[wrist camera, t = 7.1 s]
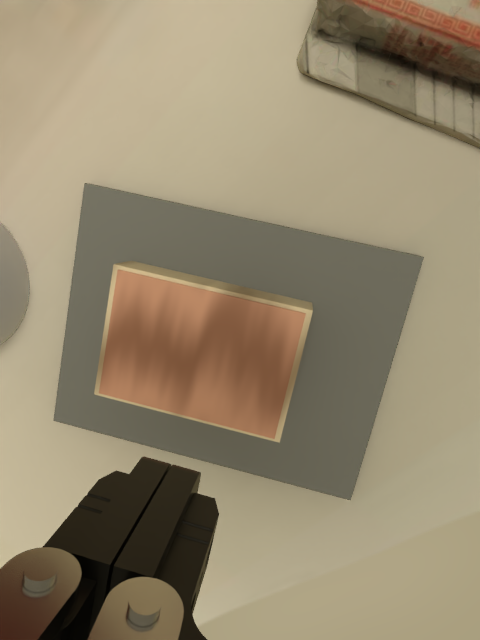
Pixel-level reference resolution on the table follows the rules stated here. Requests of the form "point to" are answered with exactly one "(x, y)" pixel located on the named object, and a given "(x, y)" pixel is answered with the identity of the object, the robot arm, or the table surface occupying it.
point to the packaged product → (402, 58)
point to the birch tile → (201, 348)
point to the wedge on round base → (12, 285)
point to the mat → (261, 274)
